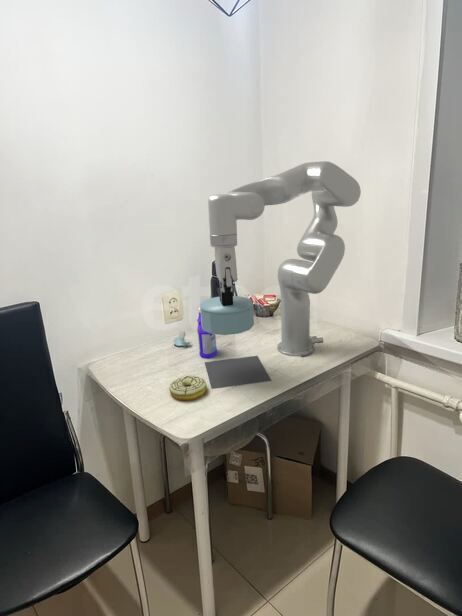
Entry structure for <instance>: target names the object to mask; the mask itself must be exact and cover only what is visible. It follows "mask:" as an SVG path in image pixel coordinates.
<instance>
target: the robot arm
mask: <svg viewBox="0 0 462 616" xmlns="http://www.w3.org/2000/svg"><path fill="white" fill-rule="evenodd" d="M310 192H311V200H312V204H313V211H314V212H313V217H312V219H311V221H310V223H309V225H308V227H306V230H305V231H304V233H303V234H302V236H301V238H300V240H299V242H298V243H297V244H298V245H296V246H297V247H296V252H297V256H299V257H300V258H301V259H297V258H289V259H286V260H284V261H283V262H281V264H279V267H278V269H277V281H278V286H279V290H280V291H279V292H280V306H281V307H280V310H281V311H280V312H281V313H280V315H281V316H280V317H281V320H280V321H281V323H280V324H281V325H280V326H281V341H280V342H279V343H278V344H277V347H276V349H277V352H279V353H280V354H281V355H285V356H289V357H305V356H308V355H311V354H313V352H314V351H315V347H314V345H315V344H323V343H324V338H323V336H322V337H318V336H317V335H312V336H310V335H311V334H310V327H311V326H310V325H311V323H310V322H311V321H310V320H311V319H310V318H311V317H310V316H311V300H310V295H309V294H315V295H316V294H320V293H322V292H323V291H324V290H325V289H326V288H327V287H328V285H329V283H330V282H331V280H332V279H333V277H334V275H335V273H336V272H337V270H338V268H339V267H340V265H341V263H342V260H343V258H344V256H345V250H346V244H345V241H344V239H343V238H342V237H341V236H340V235H337V234H335V231H336V230H337V228H338V218H337V217H338V216H337V214H336V209H335V207H344V208H345V207H346V208H347V207H349V208H350V207H352V206H355V204H357V202H358V201H359V199H360V198H361V186H360V184H359V182H358V181H357V180H356V178H355V177H353V176H352V175H350V174H349V173H347V172H346V171H345V169H342V168H341V167H339V165H337V164H336V163H334V162H331V161H311V162H304V163H301V164H299V165H297V166H294V167H292V168H289V169H288V170H285V171H283V172H280V173H278V174H276V175H272V176H269V177H266V178H263V179H259V180H257V181H253V182H249V183H247V184H246V183H245V184H244V185H241V186H239V187H237V188H234V189H232V190H229V191H228V192H226V193H224V194H221V193H220V194H213V195H210V196H209V197H208V200H207V201H208V202H207V205H208V222H209V224H208V225H209V241H210V245H209V246H210V247H211V248H214V263H215V264H214V265H215V273H216V277H217V279H218V280H219V297H220V302H221V295H222V305H223V306H228V305H233V296H234V292H233V291H234V290H233V282H237V281H238V269H237V267H238V266H237V255H236V250H235V249H236V248H235V247H236V246H238V230H237V229H238V228H237V227H238V225H237V224H238V223H237V222H238V220H239V221H241V220H243V221H244V220H245V221H253V220H256V219H258V218H260V217H261V216H262V214H263V213H264V211H265V206H275V205H276V206H277V205H281V204H285V203H288V202H291V201H292V200H294V199H296V198H299V197H301V196H303V195H305V194H307V193H310ZM220 288H222V292H221V293H220Z"/></svg>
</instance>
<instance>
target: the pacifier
mask: <svg viewBox="0 0 462 616" xmlns="http://www.w3.org/2000/svg"><path fill="white" fill-rule="evenodd" d="M178 335H179V337H175V339H174V340H173V344H171V347H172V348H173V349H176V350H184V349H185V348H186V347H187V345H190V344H191V342H190V341H188V342H187V341H186V339H185V337H186V331H185V330H184V329H181V330H179V332H178Z"/></svg>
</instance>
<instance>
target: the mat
mask: <svg viewBox="0 0 462 616" xmlns="http://www.w3.org/2000/svg"><path fill="white" fill-rule="evenodd" d="M204 365H205V370H206V374H207V377H208V381H209V384H210V385H209V386H210V389H211V390H213V389H220V388H228V387H237V386H243V385H251V384H258V383H259V384H260V383H266V382H272V381H273V380H272V378H271V377H270V375H269V373H268V371H267V370H266V368H265V366H264V364H263V362H262V361H261V359H260V358H259V356H258V355H253V356H252V355H251V356H244V357H237V358H227V359H219V360H213V361H212V360H211V361H205V362H204Z"/></svg>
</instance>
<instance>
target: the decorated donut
mask: <svg viewBox="0 0 462 616" xmlns="http://www.w3.org/2000/svg"><path fill="white" fill-rule="evenodd" d="M207 387H208V385H207V382H206V379H205V378H203V377H200V376H195V375H186V376H181V377H178V378H176V379H173V380H172V381H171V382H170V384H169V387H168V389H169V392H170V395H171V396H172V397H173V398H174V399H176V400H179V401H183V402H185V401H193V400H196V399H198V398H200V397H202V396H203V395H204V394H205V393H206V391H207Z"/></svg>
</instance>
